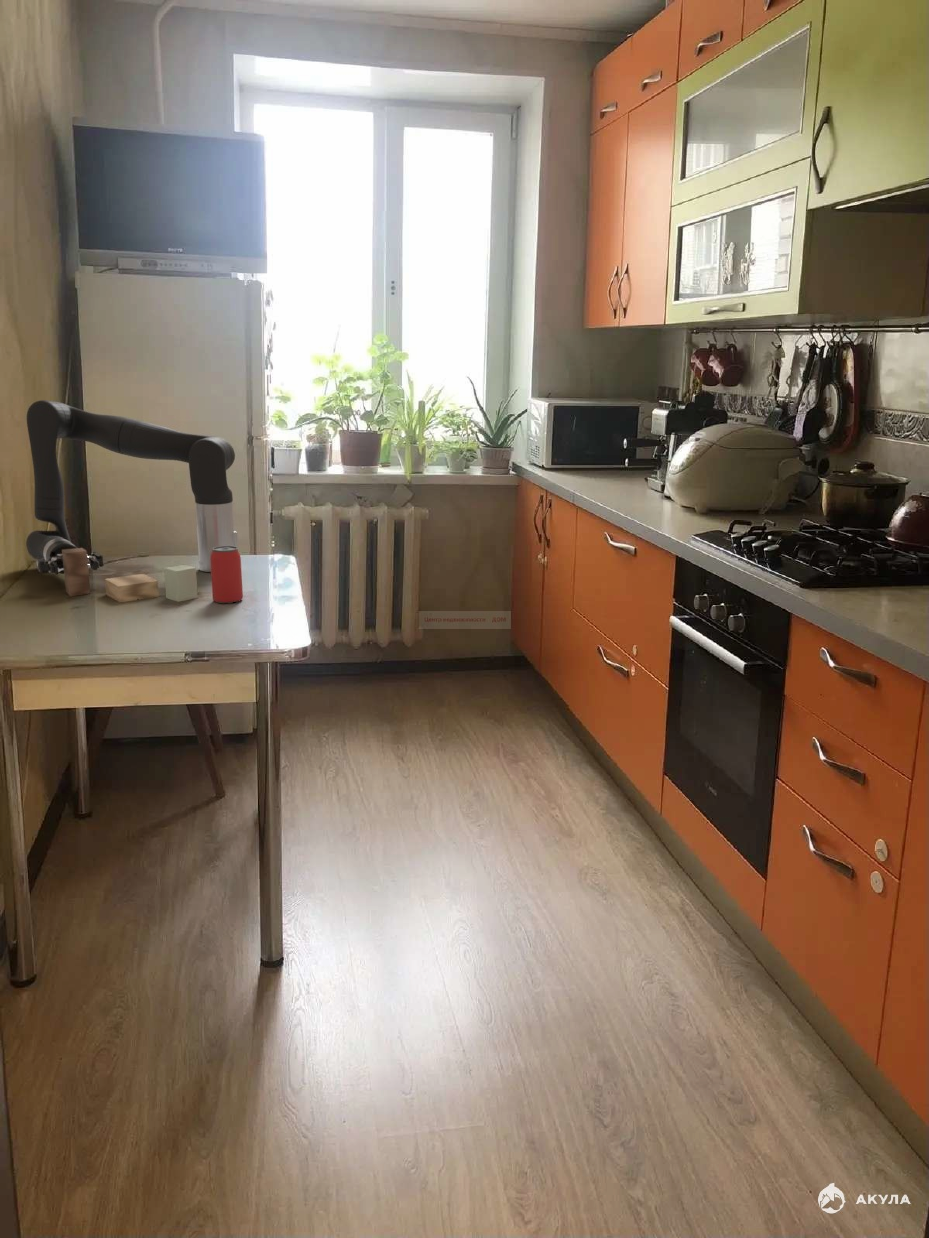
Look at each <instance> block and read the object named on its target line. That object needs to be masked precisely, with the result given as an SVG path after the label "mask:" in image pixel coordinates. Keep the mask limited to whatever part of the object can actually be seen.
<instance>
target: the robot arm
mask: <svg viewBox="0 0 929 1238" xmlns="http://www.w3.org/2000/svg"><path fill="white" fill-rule="evenodd" d="M26 426H27V432H28V438H29V444H30V451H31V459H32V466H33V478H34V479H33V480H34V482H33V483H34V504H33V505H34V510H33V511H34V517H35V519H36V520H38V521H40V522H44V523H49V524H52V525H53V526H54V528H55V530H34V531H31V532H30V533H29V535H27V538H26V543H25V544H26V545H25V547H26V550H27V552H28V554H29V555H30V556H31V557H32V558H33V559H35V560H36V567H37V570H38V572H39V573H41V574H44V573H46V571H48V573H51V574H54V575H59V574H62V575H64V567H63V557H62V550H64V549H75V548H78V547H77V546H76V545H75V544H74V543H72V541H71V538H70V537H71V536H70V534H69V531H68V528H67V523H66V516H65V515H66V514H65V488H64V487H65V485H64V482H63V478H62V474H61V472H60V467H59V465H58V464H59V463H58V457H57V442H58V439H64V440H65V439H67V440H75V441H83V442H89V443H92V444H95V445H97V446H99V447H102V448H103V449H106V450H108V451H111V452H114V453H117V454H120V455H125V456H128V457H133V458H137V459H146V460H159V461H160V460H163V461H178V462H182V463H186V464H188V468H189V469H188V470H189V478H190V480H189V481H190V487H191V491H192V494H193V496H194V502H195V503H194V504H195V518H196V519H195V521H196V532H197V533H196V534H197V535H196V536H197V549H198V552H197V553H198V565H199V570H200V571H201V572H207V573H211V562H210V557H211V554H212V551H213V550H212V549H213V548H214V547H219V546H235V547H237V548H238V549H237V550H238V551H239V541H238V540H239V537H238V532H237V531H236V530H235V519H234V515H235V514H234V503H233V501H234V500H233V499H234V498H233V492H232V490H231V489H230V487H229V485H228V479H227V478H228V477H227V470H228V469H230V468H231V467H232V465H233V464H234V462H235V459H236V453H235V450H234V448H233V446H232V445H231V443H229V441H228V440H226V439H224V438H222V437H220V436H215V435H214V436H213V435H203V434H202V435H201V434H195V433H189V432H183V431H178V430H175V429H173V428H169V427H165V426H162V425H159V424H155V423H151V422H147V421H144V420H139V419H134V418H131V417H126V416H119V415H114V414H113V415H112V414H98V413H92V412H90V411H86V410H83V409H79V408H77V407H74V406H71V405H68V404H66V403H63V402H61V401H54V400H46V399H45V400H44V399H41V400H37V401H35V402H33V403H32V404H30V406H29V407H28V409H27V412H26ZM87 561H88V569H92V570H93V571H97V570H98V569H99V568H100V567H102V568H103V567H104V566H105V565H104V564H105V563H104V555H102V554H101V553H99V552H96V551H93V552H91V554H90V555H89V554H88V553H87Z"/></svg>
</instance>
